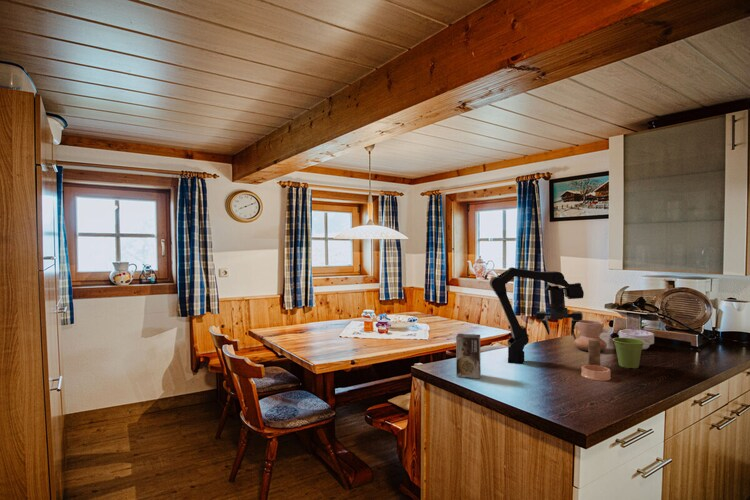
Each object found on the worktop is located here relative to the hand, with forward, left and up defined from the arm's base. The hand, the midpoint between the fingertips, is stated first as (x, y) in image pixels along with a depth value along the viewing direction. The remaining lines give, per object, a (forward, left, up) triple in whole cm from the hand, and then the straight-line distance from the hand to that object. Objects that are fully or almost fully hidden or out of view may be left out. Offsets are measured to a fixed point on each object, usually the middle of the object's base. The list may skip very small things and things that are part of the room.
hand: (560, 335), depth 182 cm
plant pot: (+27, +5, -13) cm, 30 cm away
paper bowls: (+40, +45, -13) cm, 61 cm away
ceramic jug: (+16, +32, -13) cm, 38 cm away
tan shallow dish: (+11, -15, -13) cm, 23 cm away
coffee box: (-37, -30, -13) cm, 49 cm away
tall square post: (+12, -6, -13) cm, 19 cm away
